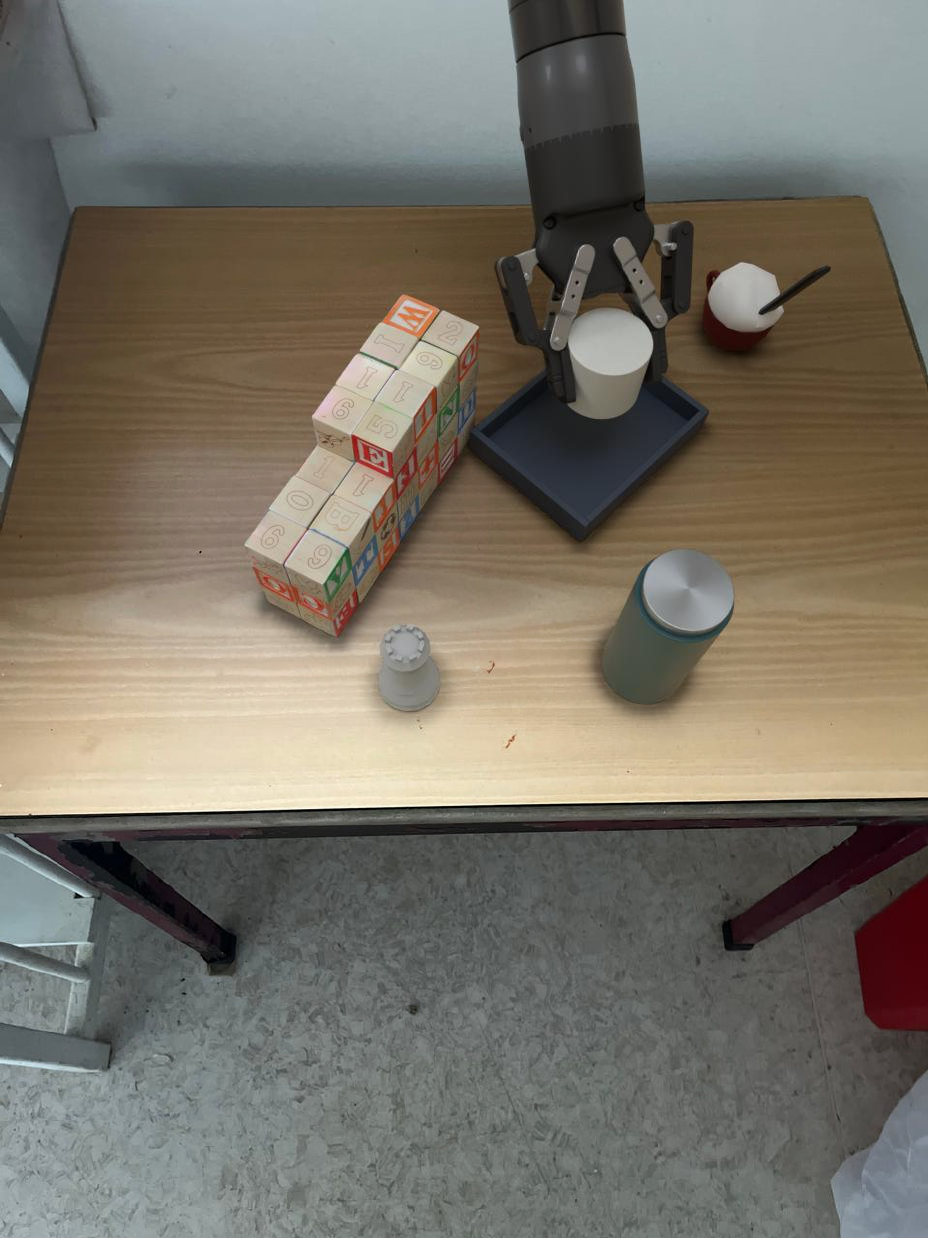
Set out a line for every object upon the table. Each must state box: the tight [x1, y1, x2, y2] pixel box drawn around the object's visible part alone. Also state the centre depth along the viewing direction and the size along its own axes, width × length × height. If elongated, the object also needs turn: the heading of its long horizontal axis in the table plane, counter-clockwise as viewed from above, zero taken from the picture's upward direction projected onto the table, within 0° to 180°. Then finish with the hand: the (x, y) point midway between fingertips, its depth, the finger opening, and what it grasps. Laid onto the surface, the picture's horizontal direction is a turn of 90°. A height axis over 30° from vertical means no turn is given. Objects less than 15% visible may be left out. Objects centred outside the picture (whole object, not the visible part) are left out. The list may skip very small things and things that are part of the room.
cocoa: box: [701, 261, 832, 352], centre depth 69 cm, size 10×6×12 cm, turn 5°
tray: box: [468, 367, 711, 543], centre depth 69 cm, size 15×12×2 cm
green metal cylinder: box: [600, 548, 735, 705], centre depth 56 cm, size 6×6×13 cm
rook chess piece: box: [377, 623, 441, 712], centre depth 57 cm, size 4×4×8 cm
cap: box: [565, 307, 653, 419], centre depth 61 cm, size 6×6×5 cm
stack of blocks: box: [243, 294, 480, 638], centre depth 61 cm, size 21×6×12 cm, turn 152°
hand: (610, 391), depth 62 cm, fingers closed on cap, 6 cm apart
